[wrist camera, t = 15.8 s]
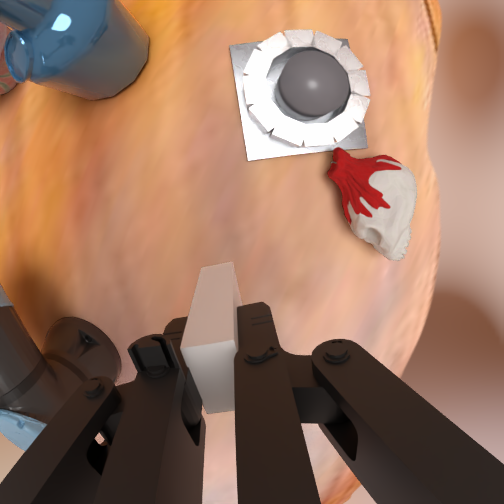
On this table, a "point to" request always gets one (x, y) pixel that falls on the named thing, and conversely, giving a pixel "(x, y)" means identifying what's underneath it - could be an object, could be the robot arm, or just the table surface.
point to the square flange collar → (275, 118)
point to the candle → (376, 200)
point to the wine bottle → (74, 45)
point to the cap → (311, 85)
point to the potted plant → (3, 80)
